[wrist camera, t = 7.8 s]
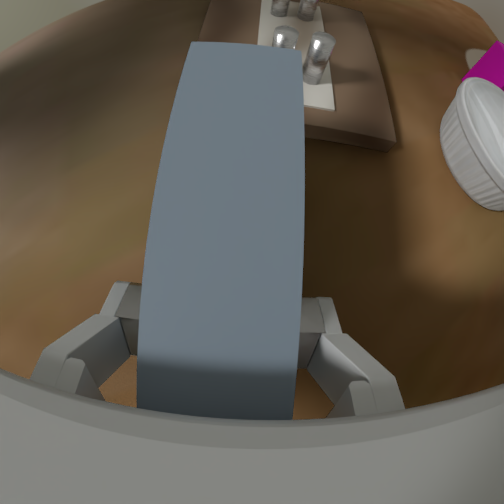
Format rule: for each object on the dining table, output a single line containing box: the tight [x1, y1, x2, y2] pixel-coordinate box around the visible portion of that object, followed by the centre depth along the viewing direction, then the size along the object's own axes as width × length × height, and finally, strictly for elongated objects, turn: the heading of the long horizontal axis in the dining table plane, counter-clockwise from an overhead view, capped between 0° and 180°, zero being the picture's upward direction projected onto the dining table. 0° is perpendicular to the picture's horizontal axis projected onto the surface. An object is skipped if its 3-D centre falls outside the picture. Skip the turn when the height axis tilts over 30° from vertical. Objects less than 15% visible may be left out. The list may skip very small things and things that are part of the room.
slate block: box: [137, 42, 305, 420], centre depth 12 cm, size 4×12×8 cm, turn 176°
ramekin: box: [440, 77, 504, 211], centre depth 17 cm, size 11×11×5 cm
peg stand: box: [197, 0, 397, 152], centre depth 17 cm, size 14×16×6 cm
